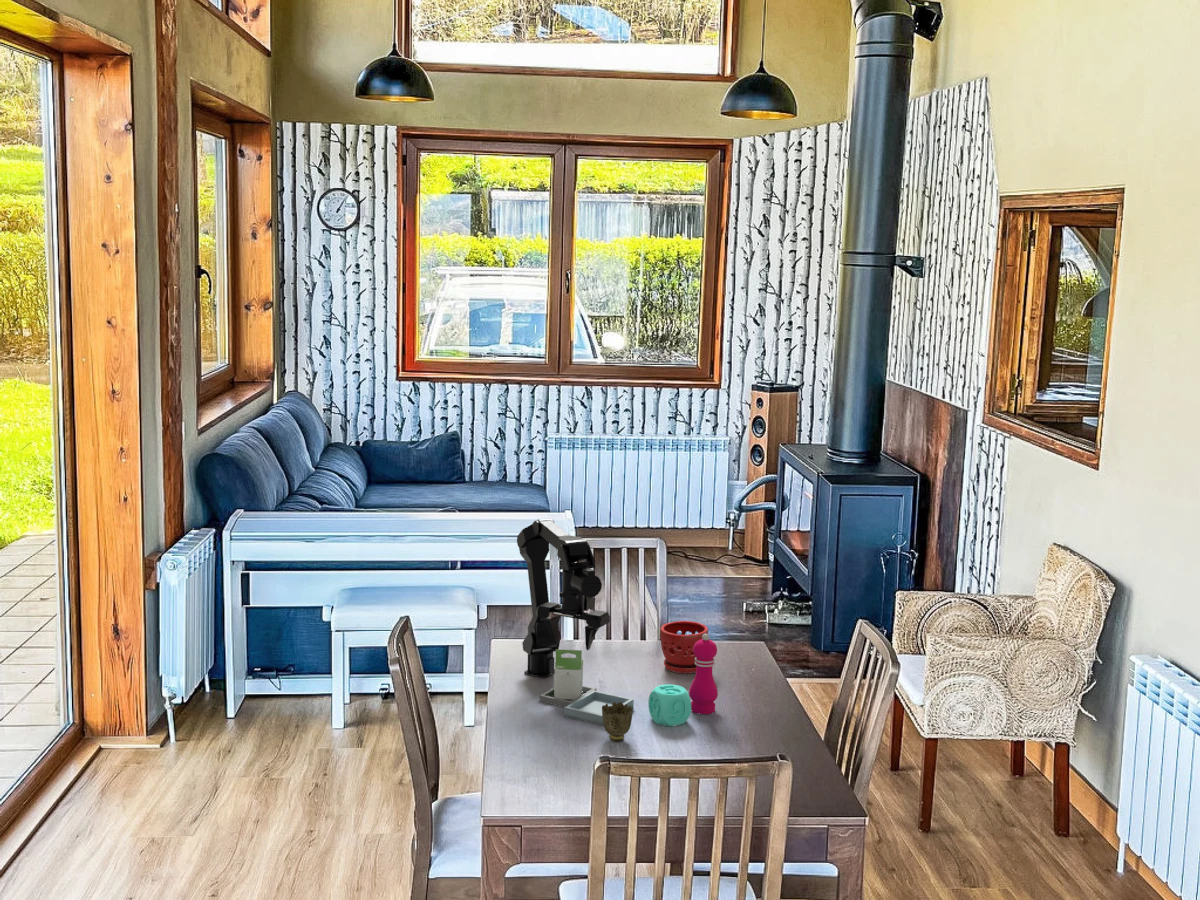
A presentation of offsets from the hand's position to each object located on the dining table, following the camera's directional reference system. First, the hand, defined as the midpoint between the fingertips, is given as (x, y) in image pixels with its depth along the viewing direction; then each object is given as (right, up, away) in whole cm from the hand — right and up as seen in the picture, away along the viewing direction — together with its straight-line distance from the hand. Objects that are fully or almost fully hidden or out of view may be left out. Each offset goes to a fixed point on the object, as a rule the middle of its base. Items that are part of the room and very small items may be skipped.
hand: (572, 646), depth 327 cm
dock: (-1, -13, +1) cm, 13 cm away
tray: (+7, -15, -9) cm, 19 cm away
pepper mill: (+33, -15, -5) cm, 37 cm away
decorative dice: (+24, -16, -13) cm, 32 cm away
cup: (+11, -18, -26) cm, 34 cm away
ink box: (-1, -13, +1) cm, 14 cm away
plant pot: (+30, -10, +26) cm, 41 cm away
